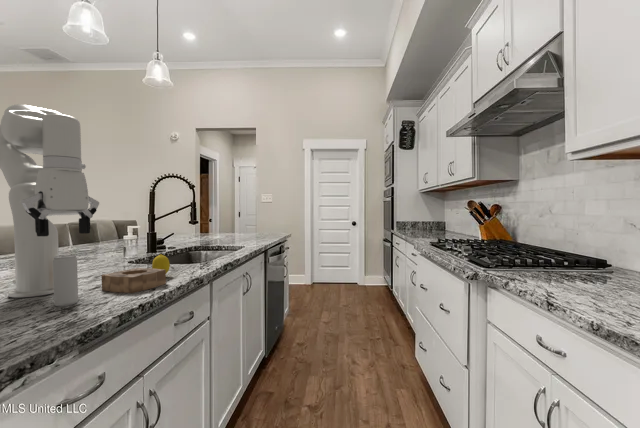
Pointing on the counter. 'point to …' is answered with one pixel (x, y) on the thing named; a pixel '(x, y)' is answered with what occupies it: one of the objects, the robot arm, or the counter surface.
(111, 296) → the counter surface
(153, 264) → the lemon
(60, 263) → the beverage can
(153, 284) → the socket block
